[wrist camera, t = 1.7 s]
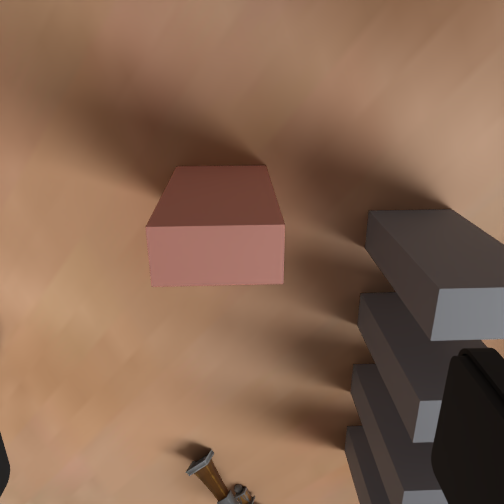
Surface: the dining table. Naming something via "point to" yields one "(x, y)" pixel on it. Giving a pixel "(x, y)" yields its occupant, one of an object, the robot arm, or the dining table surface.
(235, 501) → the wooden post with brackets
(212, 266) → the domino
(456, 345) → the domino
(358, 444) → the domino
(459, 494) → the robot arm
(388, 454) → the domino
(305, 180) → the dining table surface
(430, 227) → the domino
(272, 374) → the dining table surface
